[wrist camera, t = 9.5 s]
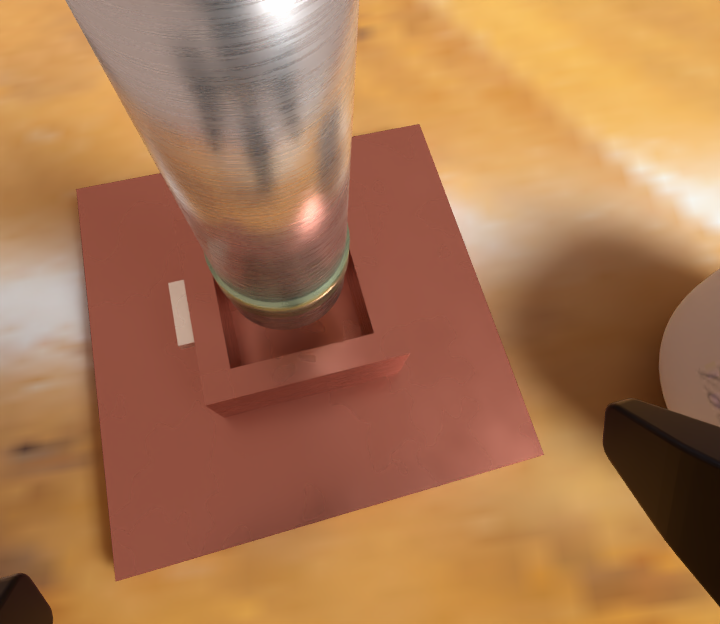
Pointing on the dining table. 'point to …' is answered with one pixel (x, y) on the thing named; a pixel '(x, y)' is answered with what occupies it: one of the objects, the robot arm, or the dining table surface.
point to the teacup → (693, 354)
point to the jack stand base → (289, 369)
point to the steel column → (245, 134)
